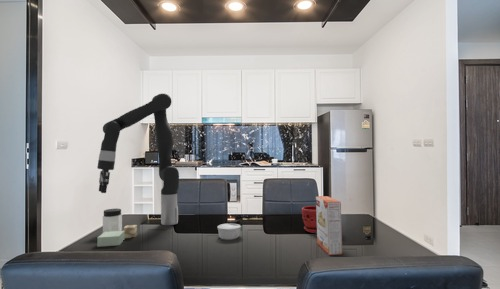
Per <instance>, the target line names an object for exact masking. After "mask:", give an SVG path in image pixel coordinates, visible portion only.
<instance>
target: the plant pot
mask: <svg viewBox="0 0 500 289" xmlns="http://www.w3.org/2000/svg"><path fill="white" fill-rule="evenodd" d="M301 216H302V222H303V224H304V226H303V229H304V230H305V231H306V232H308V233H311V234H312V233H313V234H317V216H316V205H308V206H307V205H306V206H303V207H302V208H301Z"/></svg>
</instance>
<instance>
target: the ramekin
mask: <svg viewBox="0 0 500 289" xmlns="http://www.w3.org/2000/svg"><path fill="white" fill-rule="evenodd" d="M216 228H217V230H218V237H219V238H220V239H222V240H227V241H228V240H229V241H230V240H235V239H238V238H239V237H240V233H241V228H242V226H241V224H237V223H231V222H229V223H222V224H219V225H217V227H216Z"/></svg>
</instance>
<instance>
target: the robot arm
mask: <svg viewBox="0 0 500 289" xmlns="http://www.w3.org/2000/svg"><path fill="white" fill-rule="evenodd" d="M171 105H172V98H171V96H170V95H169V94H166V93H159V94H157V95H154V96H153V97H152V99H151V101H149V102H146V103H145V104H143V105H141V106H139V107H137V108H136V107H135V108H134V109H132V110H130V111H128V112H125V113H124V114H122V115H119V117H117V118H114V119H112V120H110V121H108V122H106V123H104V124H103V126H102V131H103V133H104V137H103V139H102V142H101V146H100V151H99V155H98V160H97V169H98V170H100V172H99V178H98V179H99V180H98V182H99V186H98V192H101V194H106V193H107V189H108V185H109V183H110V175H111V172H110V171H113V170H115V165H116V164H115V162H116V151H117V145H118V141H119V137H120V133H121V131H123V130H124V129H126V128H129V127H132V126H134V125H135V124H137V123H139V122H141V121H143V119H145V118H146V119H147V117H149V116H151V115H153V118H154V127H155V140H156V145H157V146H156V147H157V154H158V155H157V156H158V176H159V178H160V180H161V181H163V186H162V188H161V189H160V224H161V225H162V226H174V225H177V224H178V222H179V206H178V191H179V185H180V172H179V169H178V168H176V167H175V166H173V165H172V164H173V163H172V153H173V147H174V137H173V131H172V128H171V126H170V124H169V122H168V119H167V116H168V115H167V109H169V108H170V107H171Z"/></svg>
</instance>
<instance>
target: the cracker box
mask: <svg viewBox="0 0 500 289" xmlns="http://www.w3.org/2000/svg"><path fill="white" fill-rule="evenodd" d="M315 206H316V216H317V233H316V242H317V245H318V246H320V248H321V249H322V250H323V251H324V252H325V253H326V254H327V255H328V256H335V255H336V256H338V255H343V234H342V233H343V232H342V230H343V229H342V228H343V227H342V204H341V201H340V200H337V199H335V198H334V197H331V196H327V195H325V196H324V195H323V196H321V195H319V196H318V195H317V196H315Z"/></svg>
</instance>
